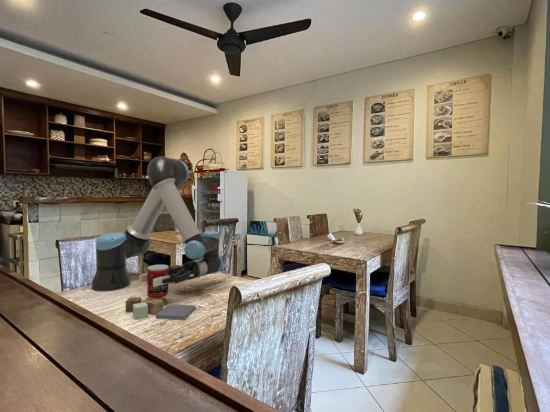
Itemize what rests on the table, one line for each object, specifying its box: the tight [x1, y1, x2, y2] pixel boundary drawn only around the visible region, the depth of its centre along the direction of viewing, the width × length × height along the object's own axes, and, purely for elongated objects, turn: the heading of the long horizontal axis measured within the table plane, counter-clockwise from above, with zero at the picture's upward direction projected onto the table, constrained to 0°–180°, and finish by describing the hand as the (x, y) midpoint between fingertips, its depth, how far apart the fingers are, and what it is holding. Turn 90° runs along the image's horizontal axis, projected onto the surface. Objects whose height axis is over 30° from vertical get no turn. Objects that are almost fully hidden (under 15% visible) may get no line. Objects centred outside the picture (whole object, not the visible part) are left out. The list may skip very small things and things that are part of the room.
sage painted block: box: [132, 301, 149, 321], centre depth 101 cm, size 4×4×4 cm
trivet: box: [155, 303, 196, 321], centre depth 104 cm, size 10×10×1 cm
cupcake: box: [169, 256, 183, 275], centre depth 146 cm, size 9×8×12 cm
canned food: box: [146, 264, 170, 299], centre depth 115 cm, size 8×8×11 cm
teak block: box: [145, 298, 164, 316], centre depth 105 cm, size 4×4×4 cm
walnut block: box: [125, 296, 142, 313], centre depth 107 cm, size 4×4×4 cm
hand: (146, 281), depth 111 cm, fingers closed on canned food, 8 cm apart
